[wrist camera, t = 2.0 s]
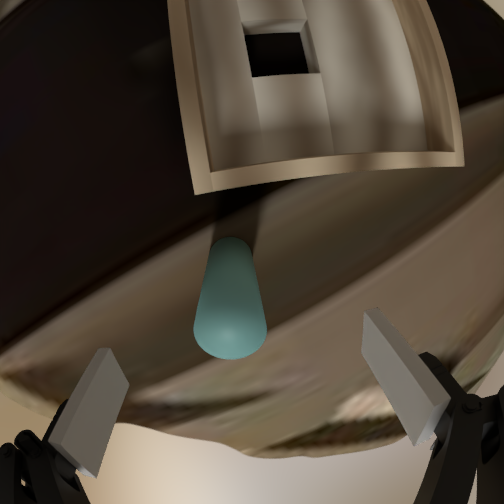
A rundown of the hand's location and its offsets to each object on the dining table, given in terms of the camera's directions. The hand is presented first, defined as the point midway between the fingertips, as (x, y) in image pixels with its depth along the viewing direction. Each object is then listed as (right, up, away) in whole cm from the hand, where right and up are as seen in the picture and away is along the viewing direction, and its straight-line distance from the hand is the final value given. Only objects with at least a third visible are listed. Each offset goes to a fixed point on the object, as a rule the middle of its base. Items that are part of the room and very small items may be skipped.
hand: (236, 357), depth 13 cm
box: (+6, +23, +7) cm, 25 cm away
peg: (-1, +5, +13) cm, 14 cm away
